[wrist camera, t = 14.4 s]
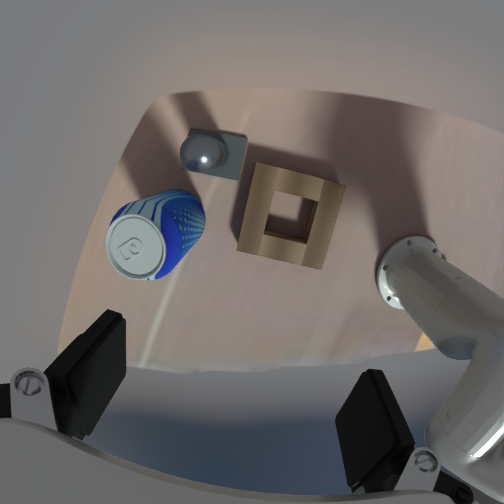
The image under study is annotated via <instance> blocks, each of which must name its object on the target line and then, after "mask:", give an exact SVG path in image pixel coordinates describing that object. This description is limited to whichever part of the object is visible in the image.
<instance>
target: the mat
mask: <svg viewBox="0 0 504 504" xmlns="http://www.w3.org/2000/svg"><path fill="white" fill-rule="evenodd" d="M194 134H204V135H207V136H209V137H212V138H214V139H217V140H219V141H222V142H223V143H224V144H225V145H226V146H227V147H228V150H229V158H228V160H227V162H226V163H225V164H224V165H223V166H222V167H219V168H215V169H210V170H206V171H200V172H198V173H203V174H208V175H213V176H218V177H223V178H228V179H233V180H237V181H238V178H239V173H240V169H241V164H242V160H243V156H244V151H245V147H246V143H247V138H243V137H238V136H233V135H228V134H222V133H217V132H211V131H205V130H199V129H193V128H191V130H190V134H189V137H190V136H192V135H194ZM182 170H187V171H191V170H189V169H188V168H186V167H185V166H184V165H183V167H182ZM193 172H195V171H193Z"/></svg>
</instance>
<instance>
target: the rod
mask: <svg viewBox="0 0 504 504" xmlns="http://www.w3.org/2000/svg"><path fill="white" fill-rule="evenodd" d="M228 158H229V150H228V147H227V146H226V145H225V144H224V143H223V142H222V141H219V140H217V139H214V138H212V137H209V136H207V135H204V134H194V135H192V136H190V137H188V138H187V139H186V140H185V141H184V142H183V144H182V146H181V148H180V159H181V161H182V163H183V165H184V166H185V167H186V168H188V169H189V170H191V171H195V172H200V171H206V170H210V169H215V168H219V167H222V166H223V165H224V164H225V163H226V162H227V160H228Z"/></svg>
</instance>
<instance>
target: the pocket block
mask: <svg viewBox="0 0 504 504" xmlns="http://www.w3.org/2000/svg"><path fill="white" fill-rule="evenodd" d="M344 189H345V185H342V184H339V183H335V182H332V181H328V180H325V179H321V178H318V177H314V176H310V175H307V174H303V173H299V172H295V171H291V170H287V169H283V168H279V167H275V166H271V165H266V164H262V163H258V162H256V166H255V170H254V174H253V179H252V183H251V187H250V192H249V196H248V201H247V205H246V209H245V214H244V218H243V223H242V227H241V232H240V236H239V241H238V245H237V250H236V251H241V252H245V253H249V254H254V255H258V256H263V257H267V258H271V259H276V260H280V261H284V262H289V263H293V264H298V265H302V266H307V267H311V268H315V269H320V270H321V269H322V266H323V263H324V260H325V257H326V253H327V250H328V247H329V243H330V240H331V237H332V233H333V230H334V226H335V223H336V219H337V216H338V212H339V208H340V205H341V201H342V197H343V193H344ZM274 190H276V191H280V192H284V193H288V194H292V195H296V196H300V197H304V198H308V199H311V200H314V203H313V207H312V211H311V215H310V219H309V222H308V226H307V230H306V233H305V237H304V239H302V238H297V237H293V236H289V235H285V234H281V233H276V232H272V231H268V230H264V229H265V225H266V221H267V217H268V213H269V209H270V205H271V200H272V196H273V192H274Z"/></svg>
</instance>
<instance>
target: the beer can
mask: <svg viewBox="0 0 504 504" xmlns="http://www.w3.org/2000/svg"><path fill="white" fill-rule="evenodd" d="M205 220H206V219H205V212H204V209H203V207H202V205H201V203H200V202H199V200H198V199H197V198H196V197H195V196H193V195H192V194H190V193H188V192H186V191H183V190H170V191H167V192H163V193H160V194H156V195H153V196H150V197H146V198H143V199H140V200H137V201H134V202H131V203H128V204H126V205H125V206H123V207H122V208H121V209H119V210H118V212H117V213H116V214H115V215H114V217H113V219H112V221H111V223H110V226H109V228H108V231H107V234H106V238H105V248H106V253H107V256H108V258H109V260H110V262H111V264H112V265H113V267H114V268H115V269H116V270H117V271H118V272H119V273H120V274H122V275H123V276H125V277H127V278H130V279H134V280H155V279H158V278H161V277H163V276H165V275H167V274H168V273H169V272H170V271H171V270H172V269H173V268H174V267H175V266H176V265H177V264H178V262H179V261H180V260H181V259H182V258H183V257H184V255H185V254H186V253H187V252H188V251H189V249H190V248H191V247H192V246H193V245H194V244H195V243H196V241H197V240H198V239H199V238H200V236H201V235H202V233H203V231H204V228H205Z"/></svg>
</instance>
